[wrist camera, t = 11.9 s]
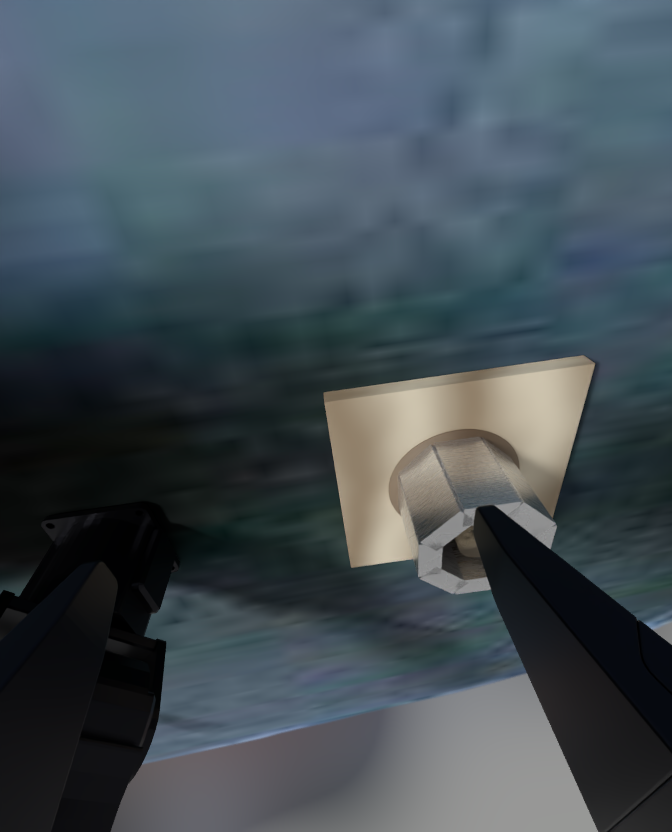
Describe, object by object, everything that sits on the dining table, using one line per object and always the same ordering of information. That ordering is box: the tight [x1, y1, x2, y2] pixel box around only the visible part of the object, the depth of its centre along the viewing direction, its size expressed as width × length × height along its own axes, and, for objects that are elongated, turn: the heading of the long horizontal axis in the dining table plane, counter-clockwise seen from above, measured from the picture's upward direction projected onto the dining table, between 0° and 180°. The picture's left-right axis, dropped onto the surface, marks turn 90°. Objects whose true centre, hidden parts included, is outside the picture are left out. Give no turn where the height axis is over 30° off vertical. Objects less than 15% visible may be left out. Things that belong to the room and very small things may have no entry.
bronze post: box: [454, 526, 480, 557], centre depth 22 cm, size 2×2×4 cm
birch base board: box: [324, 355, 595, 568], centre depth 25 cm, size 14×14×1 cm
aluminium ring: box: [397, 436, 557, 594], centre depth 22 cm, size 7×7×5 cm
